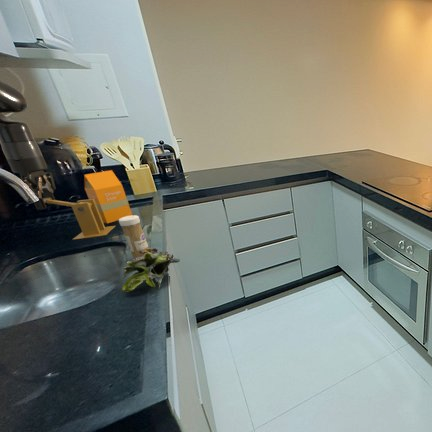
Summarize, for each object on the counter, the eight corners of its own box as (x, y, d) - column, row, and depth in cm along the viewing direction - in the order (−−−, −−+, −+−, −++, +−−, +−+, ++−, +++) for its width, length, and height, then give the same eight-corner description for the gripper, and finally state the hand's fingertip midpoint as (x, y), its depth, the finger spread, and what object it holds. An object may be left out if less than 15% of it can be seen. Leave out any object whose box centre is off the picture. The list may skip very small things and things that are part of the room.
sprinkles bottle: (149, 259, 90) (135, 218, 85) (131, 263, 88) (115, 221, 83) (153, 253, 93) (139, 213, 89) (135, 256, 92) (120, 216, 87)
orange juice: (133, 218, 122) (117, 170, 115) (108, 225, 115) (88, 175, 108) (123, 215, 125) (106, 169, 118) (97, 222, 118) (78, 173, 111)
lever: (36, 205, 96) (37, 198, 96) (46, 201, 100) (46, 194, 100) (86, 212, 102) (86, 206, 101) (92, 208, 106) (93, 202, 105)
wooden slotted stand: (73, 242, 101) (58, 207, 97) (86, 232, 109) (72, 199, 105) (106, 237, 105) (93, 203, 100) (116, 228, 112) (104, 196, 108)
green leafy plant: (163, 293, 83) (180, 251, 85) (170, 303, 75) (189, 258, 77) (111, 286, 75) (132, 241, 77) (114, 297, 67) (136, 247, 69)
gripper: (23, 153, 98) (45, 201, 104) (-10, 160, 85) (17, 215, 92) (53, 151, 100) (72, 199, 107) (25, 158, 88) (49, 211, 94)
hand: (47, 206), depth 99 cm, fingers closed on lever, 5 cm apart
